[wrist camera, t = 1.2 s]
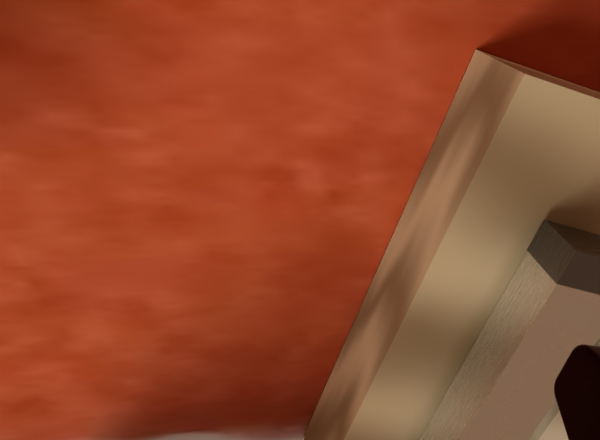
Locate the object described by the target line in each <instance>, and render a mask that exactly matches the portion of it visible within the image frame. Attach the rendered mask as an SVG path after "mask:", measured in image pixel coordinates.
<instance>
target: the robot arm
mask: <svg viewBox="0 0 600 440" xmlns="http://www.w3.org/2000/svg"><path fill="white" fill-rule="evenodd" d="M554 394H555V398H556V401H557V404H558V408H559V411H560V414H561V417H562V420H563V424H564V427H565V430H566V433H567V436H568V439H569V440H600V346H593V345H585V344H582V345H578V346H576V347H575V348H574V349H573V350H572V352H571V354H570V355H569V357H568V359H567V360H566V362H565V364H564V366H563V367H562V369H561V371H560V373H559V374H558V376H557V378H556V380H555V384H554Z"/></svg>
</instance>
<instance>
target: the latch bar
mask: <svg viewBox="0 0 600 440" xmlns="http://www.w3.org/2000/svg"><path fill="white" fill-rule="evenodd" d="M527 251H528V252H527V253H526V255H525V257H524V258H523V260H522V262H521V264H520V265H519V267H518V269H517V271H516V272H515V274H514V276H513V278H512V279H511V281H510V283H509V285H508V286H507V288H506V290H505V291H504V293H503V295H502V297H501V298H500V300H499V302H498V304H497V305H496V307H495V309H494V311H493V312H492V314H491V316H490V317H489V319H488V321H487V323H486V324H485V326H484V328H483V330H482V331H481V333H480V335H479V337H478V338H477V340H476V342H475V343H474V345H473V347H472V349H471V350H470V352H469V354H468V356H467V357H466V359H465V361H464V363H463V364H462V366H461V368H460V369H459V371H458V373H457V375H456V376H455V378H454V380H453V382H452V383H451V385H450V387H449V389H448V390H447V392H446V394H445V395H444V397H443V399H442V401H441V402H440V404H439V406H438V408H437V409H436V411H435V413H434V415H433V416H432V418H431V420H430V422H429V423H428V425H427V427H426V428H425V430H424V432H423V434H422V435H421V437H420V439H419V440H529V438H530V437H531V436H532V434H533V433H534V431H535V430H536V428H537V427H538V426H539V424H540V423H541V421H542V420H543V418H544V417H545V415H546V414H547V413H548V411H549V410H550V408H551V407H552V405H553V404H554V403H555V401H556V398H555V394H554V384H555V380H556V378H557V376H558V374H559V373H560V371H561V369H562V367H563V366H564V364H565V362H566V360H567V359H568V357H569V355H570V354H571V352H572V350H573V349H574V348H575V347H576V346H578V345H582V344H585V345H593V346H594V345H595V344H596V342H597V341H598V340H599V338H600V235H598V234H594V233H591V232H587V231H584V230H580V229H576V228H573V227H569V226H566V225H562V224H559V223H555V222H552V221H548V220H543V222H542V224H541V226H540V227H539V229H538V231H537V233H536V234H535V236H534V238H533V240H532V241H531V243H530V245H529V246H528V248H527Z"/></svg>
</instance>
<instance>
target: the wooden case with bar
mask: <svg viewBox="0 0 600 440" xmlns="http://www.w3.org/2000/svg"><path fill="white" fill-rule="evenodd" d="M543 220H548V221H552V222H555V223H559V224H562V225H566V226H569V227H573V228H576V229H580V230H584V231H587V232H591V233H594V234H598V235H600V92H598V91H595V90H592V89H589V88H587V87H584V86H581V85H578V84H575V83H572V82H569V81H566V80H563V79H560V78H557V77H555V76H552V75H549V74H546V73H543V72H540V71H537V70H534V69H531V68H528V67H526V66H523V65H520V64H517V63H514V62H511V61H508V60H505V59H502V58H499V57H497V56H494V55H491V54H488V53H485V52H482V51H479V50H475V52H474V54H473V57H472V59H471V61H470V63H469V66H468V68H467V70H466V72H465V75H464V77H463V79H462V81H461V84H460V86H459V88H458V90H457V93H456V95H455V97H454V99H453V101H452V104H451V106H450V108H449V110H448V113H447V115H446V117H445V119H444V122H443V124H442V126H441V128H440V131H439V133H438V135H437V137H436V140H435V142H434V144H433V146H432V149H431V151H430V153H429V155H428V157H427V160H426V162H425V164H424V166H423V169H422V171H421V173H420V175H419V178H418V180H417V182H416V184H415V187H414V189H413V191H412V193H411V196H410V198H409V200H408V202H407V204H406V207H405V209H404V211H403V213H402V216H401V218H400V220H399V222H398V225H397V227H396V229H395V231H394V234H393V236H392V238H391V240H390V243H389V245H388V247H387V249H386V252H385V254H384V256H383V258H382V260H381V263H380V265H379V267H378V269H377V272H376V274H375V276H374V278H373V281H372V283H371V285H370V287H369V290H368V292H367V294H366V296H365V299H364V301H363V303H362V305H361V308H360V310H359V312H358V314H357V316H356V319H355V321H354V323H353V325H352V328H351V330H350V332H349V334H348V337H347V339H346V341H345V343H344V346H343V348H342V350H341V352H340V355H339V357H338V359H337V361H336V363H335V366H334V368H333V370H332V372H331V375H330V377H329V379H328V381H327V384H326V386H325V388H324V390H323V393H322V395H321V397H320V399H319V402H318V404H317V406H316V408H315V411H314V413H313V415H312V417H311V419H310V422H309V424H308V426H307V428H306V431H305V433H304V440H419V439H420V437H421V435H422V434H423V432H424V430H425V428H426V427H427V425H428V423H429V422H430V420H431V418H432V416H433V415H434V413H435V411H436V409H437V408H438V406H439V404H440V402H441V401H442V399H443V397H444V395H445V394H446V392H447V390H448V389H449V387H450V385H451V383H452V382H453V380H454V378H455V376H456V375H457V373H458V371H459V369H460V368H461V366H462V364H463V363H464V361H465V359H466V357H467V356H468V354H469V352H470V350H471V349H472V347H473V345H474V343H475V342H476V340H477V338H478V337H479V335H480V333H481V331H482V330H483V328H484V326H485V324H486V323H487V321H488V319H489V317H490V316H491V314H492V312H493V311H494V309H495V307H496V305H497V304H498V302H499V300H500V298H501V297H502V295H503V293H504V291H505V290H506V288H507V286H508V285H509V283H510V281H511V279H512V278H513V276H514V274H515V272H516V271H517V269H518V267H519V265H520V264H521V262H522V260H523V258H524V257H525V255H526V253H527V252H528V251H527V248H528V246H529V245H530V243H531V241H532V240H533V238H534V236H535V234H536V233H537V231H538V229H539V227H540V226H541V224H542V222H543ZM594 346H600V338H599V340H598V341H597V342H596V344H595V345H594ZM529 440H569V439H568V436H567V433H566V430H565V427H564V424H563V420H562V417H561V414H560V411H559V408H558V404H557V401H555V403H554V404H553V405H552V407H551V408H550V410H549V411H548V413H547V414H546V415H545V417H544V418H543V420H542V421H541V423H540V424H539V426H538V427H537V428H536V430H535V431H534V433H533V434H532V436H531V437H530V438H529Z"/></svg>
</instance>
